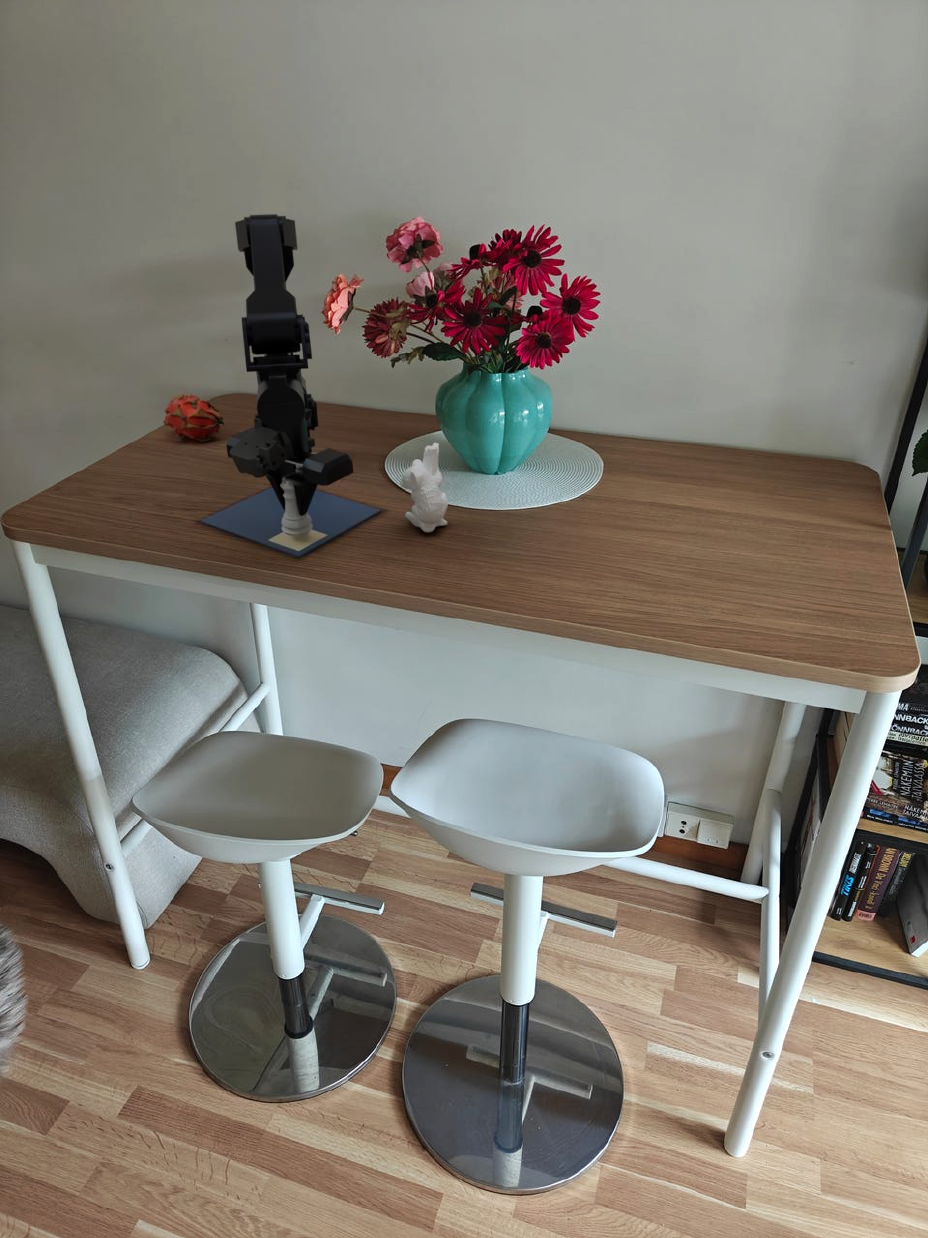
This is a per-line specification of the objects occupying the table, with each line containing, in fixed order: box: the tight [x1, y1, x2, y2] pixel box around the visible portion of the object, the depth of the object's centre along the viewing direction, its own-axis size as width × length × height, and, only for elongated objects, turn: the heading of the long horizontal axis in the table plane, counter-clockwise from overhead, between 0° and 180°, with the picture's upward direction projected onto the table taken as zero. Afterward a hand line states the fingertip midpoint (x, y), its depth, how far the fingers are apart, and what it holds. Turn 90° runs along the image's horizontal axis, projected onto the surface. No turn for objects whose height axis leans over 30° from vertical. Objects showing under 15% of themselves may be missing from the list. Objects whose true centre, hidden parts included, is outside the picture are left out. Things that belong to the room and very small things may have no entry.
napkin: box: [200, 486, 382, 558], centre depth 133 cm, size 18×20×1 cm
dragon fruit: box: [162, 393, 225, 442], centre depth 160 cm, size 8×8×12 cm
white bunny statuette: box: [399, 442, 449, 533], centre depth 127 cm, size 8×7×12 cm
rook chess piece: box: [280, 475, 313, 536], centre depth 124 cm, size 4×4×8 cm
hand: (295, 512), depth 125 cm, fingers closed on rook chess piece, 3 cm apart
